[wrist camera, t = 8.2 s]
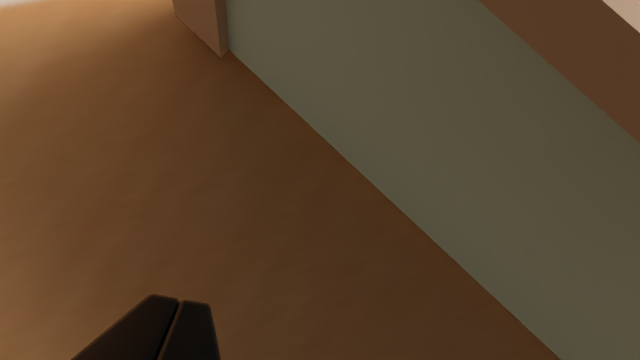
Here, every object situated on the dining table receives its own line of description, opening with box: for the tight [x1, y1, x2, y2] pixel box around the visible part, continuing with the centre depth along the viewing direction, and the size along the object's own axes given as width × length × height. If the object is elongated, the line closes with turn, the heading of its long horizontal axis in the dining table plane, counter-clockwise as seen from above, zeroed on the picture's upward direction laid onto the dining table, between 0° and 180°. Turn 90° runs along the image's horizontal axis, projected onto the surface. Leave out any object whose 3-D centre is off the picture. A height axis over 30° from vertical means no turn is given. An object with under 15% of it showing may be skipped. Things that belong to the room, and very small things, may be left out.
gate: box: [173, 0, 640, 360], centre depth 10 cm, size 21×2×10 cm, turn 47°
